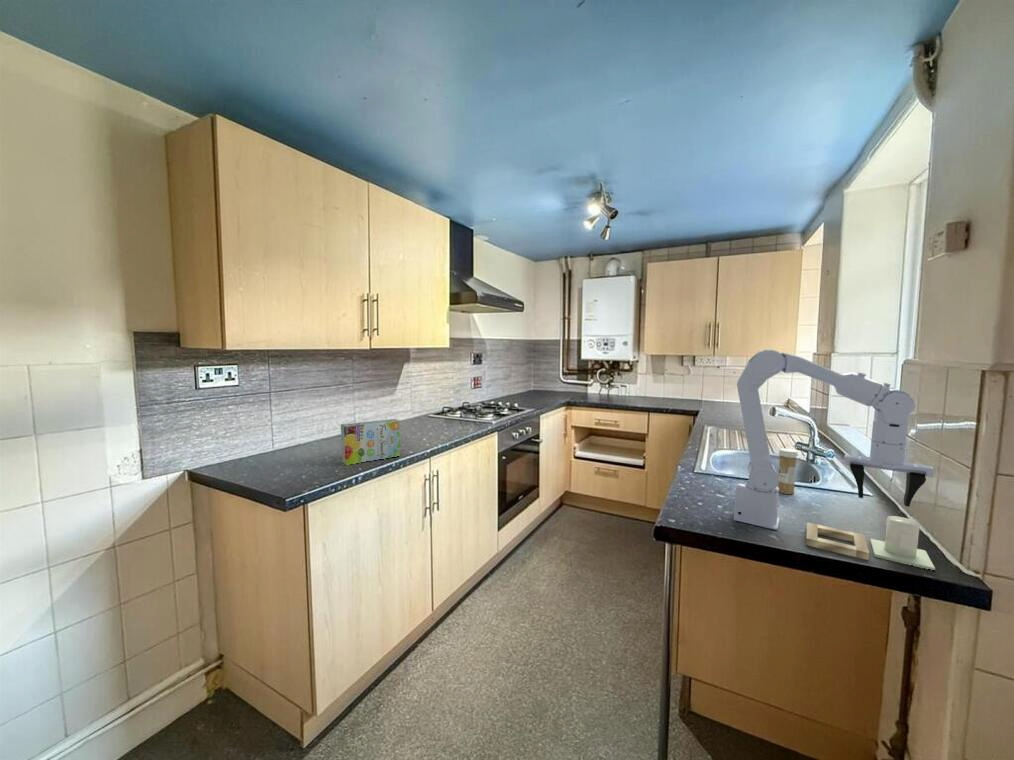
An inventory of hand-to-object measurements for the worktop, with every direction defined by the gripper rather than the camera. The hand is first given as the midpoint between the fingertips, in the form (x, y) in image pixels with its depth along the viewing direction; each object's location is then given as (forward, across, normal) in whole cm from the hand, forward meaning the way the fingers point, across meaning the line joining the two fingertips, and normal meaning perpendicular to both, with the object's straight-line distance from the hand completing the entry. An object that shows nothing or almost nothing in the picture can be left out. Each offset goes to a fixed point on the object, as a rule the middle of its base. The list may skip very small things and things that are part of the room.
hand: (882, 500), depth 92 cm
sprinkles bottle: (+10, -19, +26) cm, 34 cm away
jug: (+9, +3, -4) cm, 11 cm away
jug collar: (+10, -8, -6) cm, 14 cm away
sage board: (+10, +3, -4) cm, 11 cm away
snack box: (+11, -148, -35) cm, 153 cm away
